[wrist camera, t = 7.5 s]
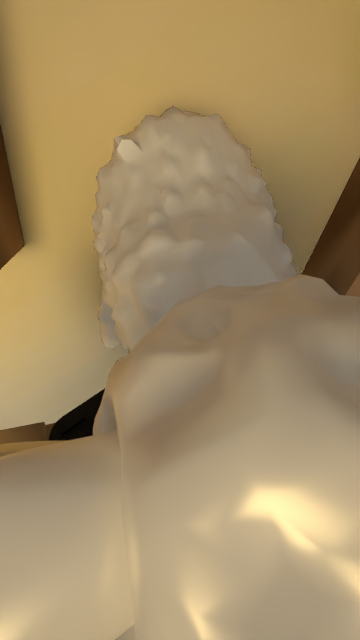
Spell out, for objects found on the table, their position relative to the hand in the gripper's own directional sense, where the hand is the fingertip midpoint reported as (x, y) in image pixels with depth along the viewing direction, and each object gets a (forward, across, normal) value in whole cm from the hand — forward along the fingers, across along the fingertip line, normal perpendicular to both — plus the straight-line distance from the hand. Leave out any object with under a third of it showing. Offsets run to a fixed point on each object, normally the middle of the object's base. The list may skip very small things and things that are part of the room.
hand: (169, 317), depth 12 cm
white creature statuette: (+2, 0, -3) cm, 4 cm away
